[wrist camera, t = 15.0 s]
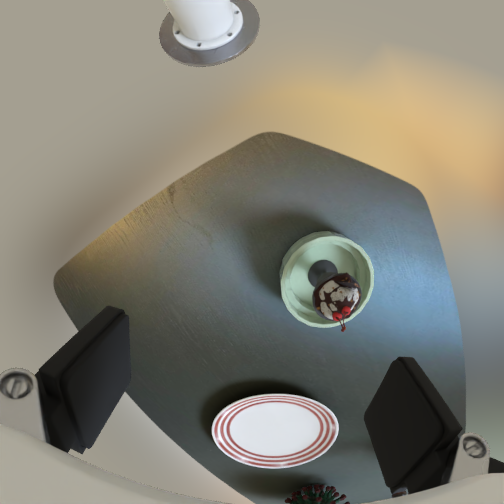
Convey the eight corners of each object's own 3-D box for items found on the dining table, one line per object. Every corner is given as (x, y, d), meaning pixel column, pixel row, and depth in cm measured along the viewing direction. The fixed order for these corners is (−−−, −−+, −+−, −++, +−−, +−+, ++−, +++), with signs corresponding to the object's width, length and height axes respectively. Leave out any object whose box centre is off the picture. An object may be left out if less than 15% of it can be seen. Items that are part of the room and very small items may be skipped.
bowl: (290, 222, 43) (293, 226, 38) (373, 241, 43) (385, 248, 39) (270, 305, 47) (271, 319, 42) (349, 319, 47) (357, 333, 42)
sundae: (313, 300, 46) (331, 349, 31) (296, 266, 44) (309, 304, 30) (348, 283, 45) (381, 324, 30) (333, 247, 43) (363, 276, 29)
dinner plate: (211, 453, 57) (210, 463, 54) (215, 377, 51) (212, 387, 47) (318, 460, 56) (319, 469, 53) (351, 387, 50) (355, 397, 47)
